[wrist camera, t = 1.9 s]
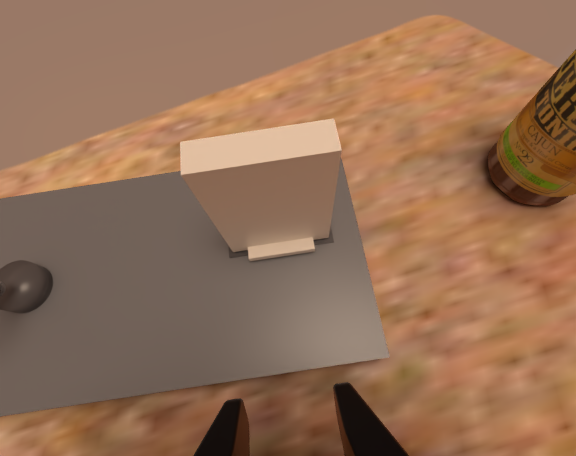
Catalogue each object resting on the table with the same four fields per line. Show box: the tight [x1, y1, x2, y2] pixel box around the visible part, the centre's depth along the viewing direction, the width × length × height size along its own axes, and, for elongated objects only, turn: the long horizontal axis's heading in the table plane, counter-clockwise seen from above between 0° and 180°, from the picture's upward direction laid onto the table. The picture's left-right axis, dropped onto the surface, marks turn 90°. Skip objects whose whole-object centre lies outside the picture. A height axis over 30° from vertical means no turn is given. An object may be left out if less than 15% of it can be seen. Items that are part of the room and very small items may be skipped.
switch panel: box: [0, 159, 390, 416], centre depth 21 cm, size 14×26×4 cm, turn 98°
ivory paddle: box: [180, 119, 342, 261], centre depth 17 cm, size 3×6×9 cm, turn 98°
